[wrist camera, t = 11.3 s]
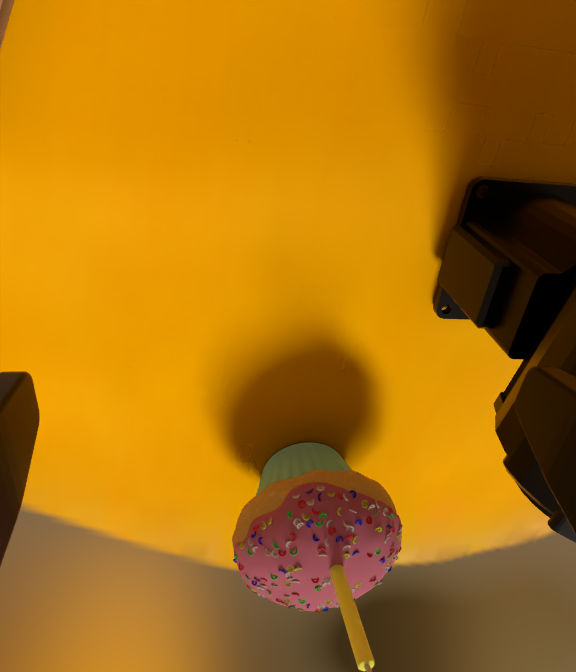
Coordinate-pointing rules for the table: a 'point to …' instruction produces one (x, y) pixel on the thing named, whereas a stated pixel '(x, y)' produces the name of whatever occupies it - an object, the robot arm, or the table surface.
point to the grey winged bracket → (4, 16)
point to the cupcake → (317, 536)
